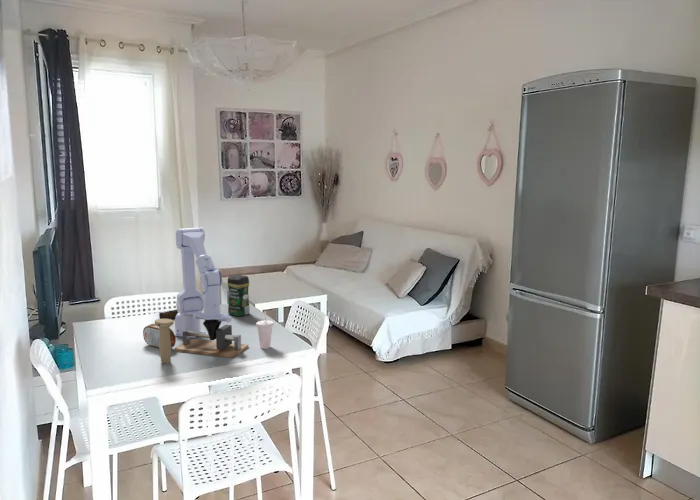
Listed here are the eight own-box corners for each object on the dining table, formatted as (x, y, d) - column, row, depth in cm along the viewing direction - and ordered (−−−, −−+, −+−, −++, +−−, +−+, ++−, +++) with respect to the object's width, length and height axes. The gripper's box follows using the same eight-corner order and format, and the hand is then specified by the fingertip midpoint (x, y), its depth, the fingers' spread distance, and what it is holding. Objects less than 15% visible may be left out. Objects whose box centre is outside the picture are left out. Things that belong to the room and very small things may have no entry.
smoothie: (259, 350, 199) (259, 314, 197) (254, 345, 205) (253, 310, 202) (276, 348, 202) (275, 312, 200) (270, 343, 208) (269, 308, 205)
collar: (216, 349, 196) (215, 330, 195) (226, 343, 203) (225, 324, 202) (222, 349, 195) (221, 330, 194) (232, 343, 202) (231, 325, 201)
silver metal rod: (183, 344, 202) (182, 330, 202) (186, 342, 205) (186, 328, 204) (238, 350, 196) (237, 336, 195) (241, 348, 198) (240, 334, 198)
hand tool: (163, 322, 235) (163, 311, 235) (158, 320, 238) (158, 310, 237) (201, 313, 249) (200, 304, 249) (196, 312, 252) (195, 302, 251)
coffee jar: (225, 314, 247) (224, 275, 244) (237, 310, 254) (236, 272, 251) (241, 317, 242) (240, 277, 239) (252, 313, 249) (251, 274, 246)
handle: (164, 358, 190) (162, 317, 188) (178, 361, 187) (176, 320, 185) (153, 363, 186) (151, 321, 184) (167, 366, 183) (166, 323, 181)
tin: (176, 349, 200) (175, 327, 199) (170, 352, 197) (169, 329, 196) (148, 342, 207) (147, 321, 206) (142, 345, 205) (140, 323, 203)
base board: (174, 351, 198) (174, 348, 198) (192, 341, 210) (192, 338, 209) (233, 357, 192) (232, 354, 191) (248, 347, 203) (248, 344, 203)
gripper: (188, 304, 193) (189, 340, 195) (224, 307, 189) (225, 344, 191) (198, 299, 199) (200, 334, 201) (234, 302, 195) (234, 338, 197)
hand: (213, 339), depth 197 cm, fingers closed
